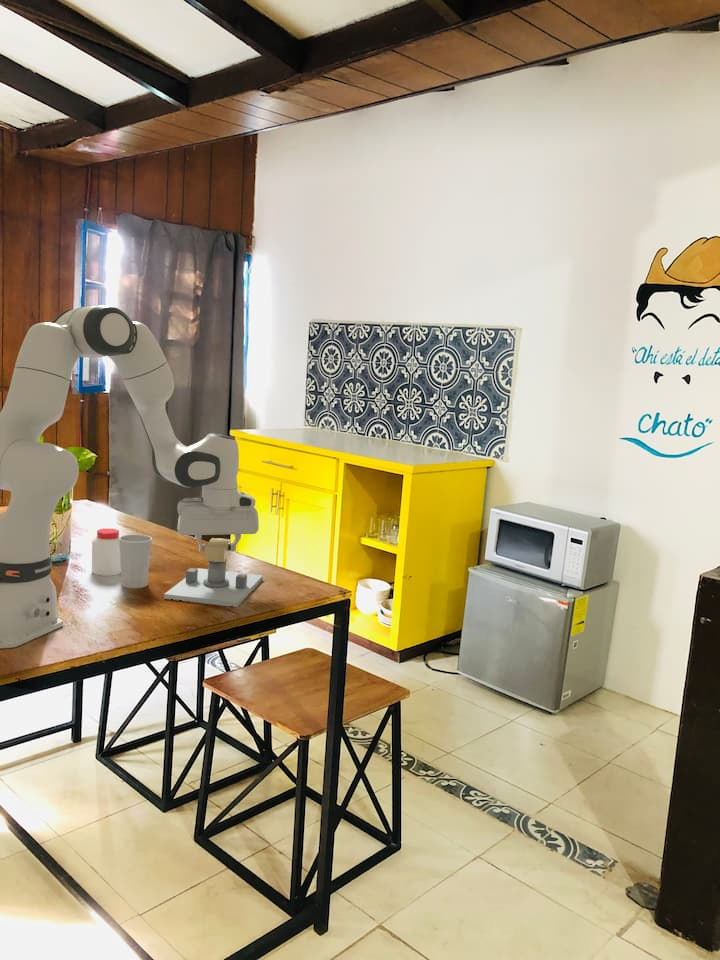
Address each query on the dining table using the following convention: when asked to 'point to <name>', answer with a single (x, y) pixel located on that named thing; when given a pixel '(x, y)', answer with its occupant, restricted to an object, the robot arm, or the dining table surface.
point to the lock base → (214, 586)
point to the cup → (134, 560)
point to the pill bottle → (106, 553)
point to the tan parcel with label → (217, 550)
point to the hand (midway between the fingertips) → (217, 551)
